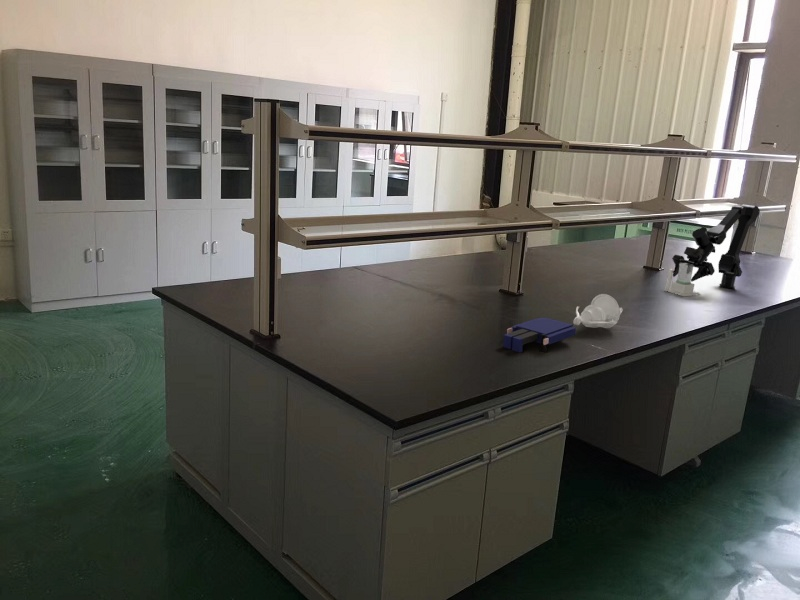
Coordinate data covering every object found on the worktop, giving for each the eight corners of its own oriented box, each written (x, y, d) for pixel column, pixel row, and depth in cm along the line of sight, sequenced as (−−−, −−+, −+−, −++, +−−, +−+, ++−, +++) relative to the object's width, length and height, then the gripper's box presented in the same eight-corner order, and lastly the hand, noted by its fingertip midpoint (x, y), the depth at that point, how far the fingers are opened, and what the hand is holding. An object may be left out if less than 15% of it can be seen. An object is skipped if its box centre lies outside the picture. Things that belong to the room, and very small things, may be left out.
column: (680, 290, 297) (685, 262, 294) (689, 292, 294) (694, 265, 290) (674, 291, 295) (679, 263, 292) (682, 293, 292) (688, 265, 288)
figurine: (642, 299, 229) (599, 309, 213) (635, 331, 233) (592, 343, 217) (602, 285, 241) (558, 294, 226) (595, 316, 245) (552, 327, 229)
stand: (678, 288, 302) (682, 267, 299) (699, 294, 293) (703, 272, 290) (663, 290, 296) (667, 268, 294) (684, 296, 288) (688, 274, 285)
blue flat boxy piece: (493, 329, 209) (541, 314, 224) (492, 348, 210) (541, 331, 226) (531, 341, 198) (579, 324, 213) (530, 360, 199) (578, 342, 215)
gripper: (678, 237, 298) (658, 262, 295) (715, 244, 283) (695, 271, 280) (686, 253, 304) (666, 278, 301) (723, 261, 289) (703, 288, 286)
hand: (682, 278), depth 292 cm, fingers open, 9 cm apart
